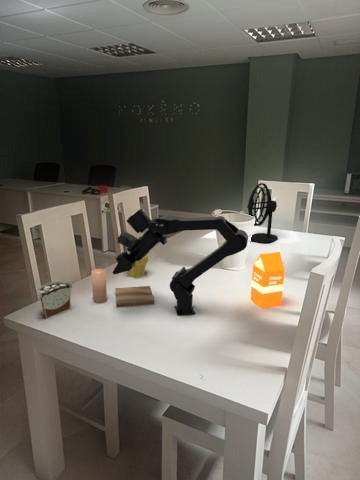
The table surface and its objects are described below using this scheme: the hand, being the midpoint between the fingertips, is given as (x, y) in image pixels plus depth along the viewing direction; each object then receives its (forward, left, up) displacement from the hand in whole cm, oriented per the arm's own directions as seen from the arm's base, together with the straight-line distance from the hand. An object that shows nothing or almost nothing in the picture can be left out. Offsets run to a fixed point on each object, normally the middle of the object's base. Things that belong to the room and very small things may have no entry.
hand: (118, 269), depth 127 cm
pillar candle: (+3, +7, -14) cm, 16 cm away
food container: (-3, +23, -14) cm, 27 cm away
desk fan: (+75, -92, -14) cm, 119 cm away
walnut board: (+3, -6, -14) cm, 15 cm away
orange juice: (-10, -55, -14) cm, 57 cm away
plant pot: (+27, -9, -14) cm, 32 cm away
